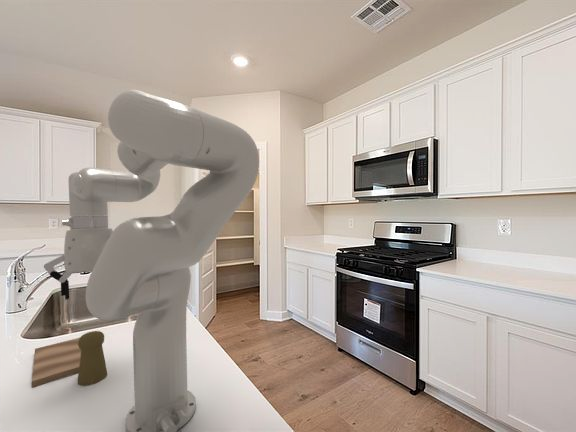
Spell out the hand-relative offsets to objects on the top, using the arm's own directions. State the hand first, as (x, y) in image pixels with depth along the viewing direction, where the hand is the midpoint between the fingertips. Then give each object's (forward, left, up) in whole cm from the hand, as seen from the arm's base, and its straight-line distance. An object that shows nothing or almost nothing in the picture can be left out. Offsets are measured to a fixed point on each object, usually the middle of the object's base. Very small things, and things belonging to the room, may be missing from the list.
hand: (92, 293), depth 67 cm
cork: (-1, +1, -21) cm, 21 cm away
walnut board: (+14, +6, -20) cm, 25 cm away
